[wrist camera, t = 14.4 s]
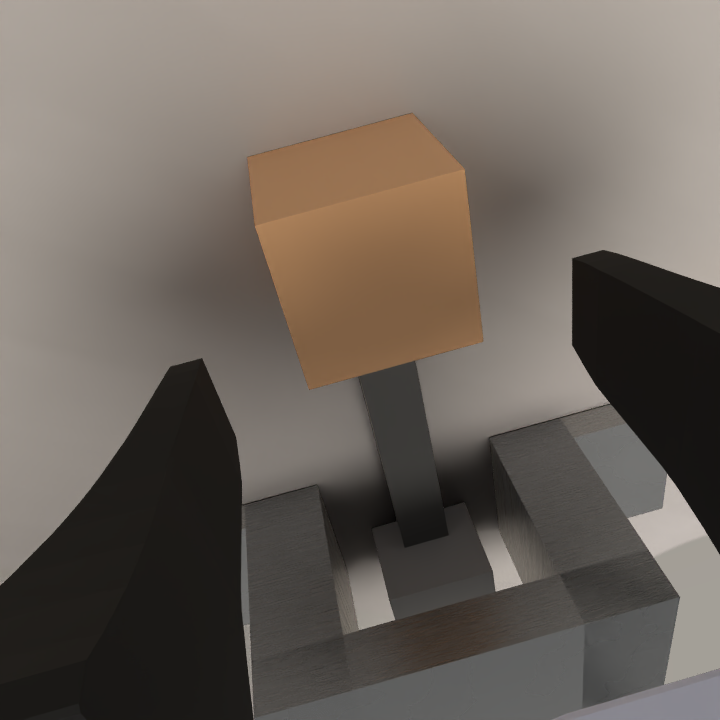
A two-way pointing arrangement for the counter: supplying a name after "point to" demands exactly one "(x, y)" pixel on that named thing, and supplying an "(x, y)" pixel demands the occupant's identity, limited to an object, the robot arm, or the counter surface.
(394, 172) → the plug
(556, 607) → the mounting bracket
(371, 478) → the counter surface
